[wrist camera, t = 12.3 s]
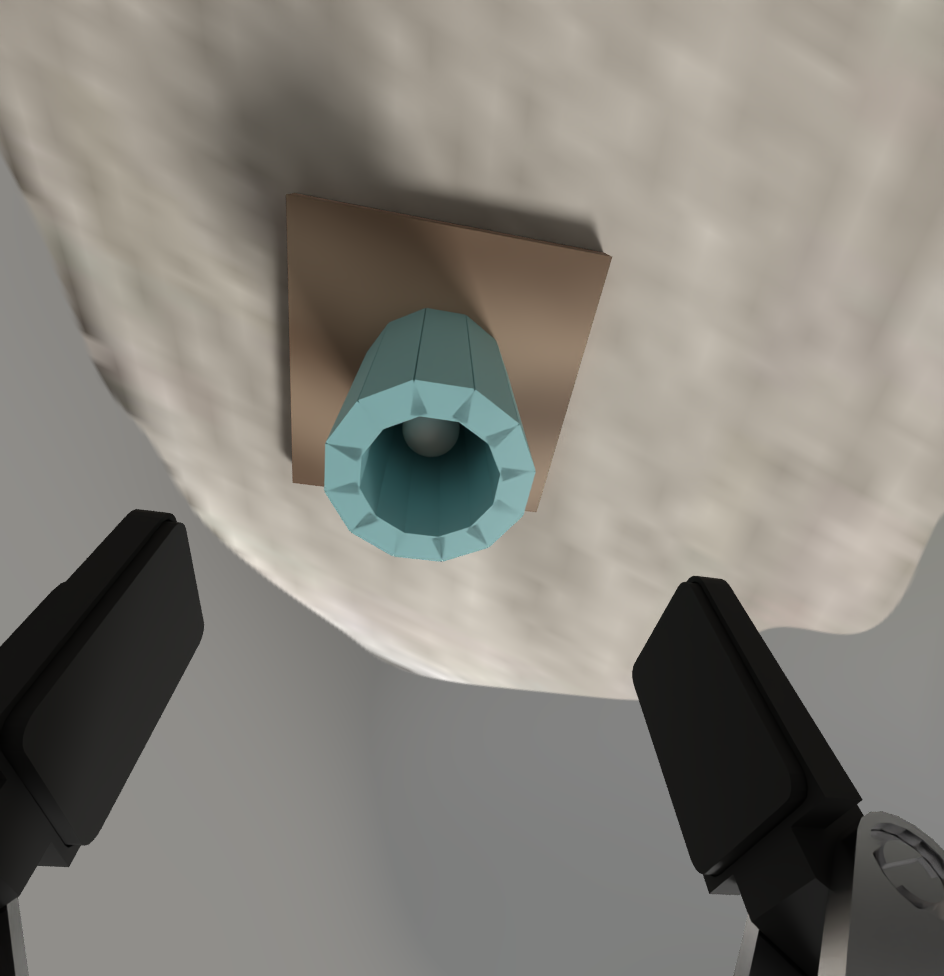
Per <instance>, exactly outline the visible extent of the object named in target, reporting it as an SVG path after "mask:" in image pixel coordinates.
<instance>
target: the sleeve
mask: <svg viewBox="0 0 944 976" xmlns="http://www.w3.org/2000/svg"><path fill="white" fill-rule="evenodd" d="M419 416H421V417H428V418H435V419H442V420H449V421H456V422H459V428H460V430H459V436H458V439H457V442H456V443H455V445H454V446H453V447H452V449H451V450H449V451H448V452H447V453H445V454H443V455H441V456H437V457H425V456H422V455H419V454H417V453H416V452H414V451H413V450H412V449H411V448H410V447H409V446H408V445H407V443H406V441H405V439H404V436H403V430H402V427H403V422H405V421H408V420H411V419H413V418H416V417H419ZM535 472H536V471H535V467H534V463H533V460H532V456H531V453H530V449H529V446H528V443H527V439H526V436H525V432H524V429H523V425H522V422H521V418H520V415H519V412H518V408H517V405H516V401H515V398H514V394H513V391H512V387H511V384H510V381H509V377H508V374H507V371H506V368H505V365H504V362H503V359H502V356H501V353H500V350H499V347H498V344H497V341H496V340H495V339H494V338H493V337H492V336H490V335H489V334H488V333H487V332H486V331H485V330H483V329H482V328H481V327H480V326H479V325H478V324H476V323H475V322H474V321H473V320H472V319H471V318H469V317H468V316H467V315H465V314H459V313H453V312H448V311H442V310H436V309H430V308H424V309H421V310H419V311H416V312H414V313H411V314H409V315H406V316H404V317H401V318H399V319H396V320H394V321H391V322H389V323H388V324H387V325H386V327H385V328H384V329H383V331H382V332H381V334H380V335H379V336H378V338H377V339H376V340H375V342H374V343H373V345H372V346H371V347H370V349H369V350H368V351H367V353H366V355H365V357H364V359H363V362H362V364H361V366H360V368H359V370H358V373H357V375H356V377H355V379H354V381H353V383H352V386H351V388H350V390H349V392H348V394H347V397H346V399H345V401H344V403H343V405H342V408H341V410H340V412H339V414H338V416H337V419H336V421H335V423H334V425H333V427H332V430H331V432H330V434H329V436H328V438H327V441H326V443H325V481H324V491H325V493H326V495H327V496H328V498H329V499H330V501H331V503H332V504H333V506H334V507H335V509H336V510H337V512H338V514H339V515H340V517H341V518H342V520H343V521H344V523H345V525H346V526H347V528H348V529H349V531H351V533H353V534H355V535H356V536H358V537H360V538H362V539H363V540H365V541H367V542H369V543H370V544H372V545H374V546H376V547H377V548H379V549H381V550H383V551H384V552H386V553H388V554H390V555H391V556H393V555H394V557H403V558H412V559H422V560H431V561H440V562H442V560H443V561H446V560H450V559H453V558H456V557H459V556H463V555H466V554H469V553H473V552H476V551H479V550H482V549H486V548H488V546H489V547H490V546H491V545H492V544H493V543H494V542H495V541H496V540H498V539H499V538H500V537H501V536H502V535H503V534H504V533H505V532H506V531H507V530H508V529H509V528H510V527H511V526H513V525H514V524H515V523H516V522H517V521H518V520H519V519H520V518H521V517H522V516H523V515H524V511H525V508H526V504H527V501H528V497H529V493H530V490H531V486H532V483H533V479H534V476H535Z"/></svg>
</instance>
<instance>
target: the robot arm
mask: <svg viewBox="0 0 944 976" xmlns="http://www.w3.org/2000/svg"><path fill="white" fill-rule="evenodd" d="M203 631H204V621H203V616H202V610H201V605H200V600H199V595H198V590H197V584H196V579H195V574H194V569H193V564H192V558H191V553H190V548H189V542H188V537H187V532H186V528H185V525H184V524H183V523H179V522H177V521H176V518H175V516H174V515H173V514H171V513H165V512H155V511H148V510H139V509H136V510H133V511H131V512H130V513H129V514H127V516H126V517H125V518H124V519H123V520H122V521H121V522H120V523H119V524H118V526H116V528H115V529H114V530H113V531H112V532H111V533H110V534H109V535H108V536H107V537H106V538H105V540H104V541H103V542H102V543H101V544H100V545H99V546H98V547H97V548H96V549H95V550H94V552H93V553H92V554H91V555H90V556H89V557H88V558H87V559H86V561H84V562H83V564H82V565H81V566H80V567H79V568H78V569H77V570H76V571H75V572H74V573H73V574H72V575H71V577H70V578H69V579H68V580H67V581H66V582H63V583H61V584H60V585H59V586H57V587H56V588H55V589H54V590H53V591H52V592H51V593H50V594H49V595H48V596H47V597H46V598H45V599H44V600H43V601H42V602H41V603H40V604H39V606H38V607H37V608H36V609H35V610H34V611H33V612H32V613H31V614H30V615H29V616H28V617H27V618H26V620H25V621H24V622H23V623H22V624H21V625H20V626H19V627H18V628H17V629H16V630H15V631H14V632H13V633H12V635H11V636H10V637H9V638H8V639H7V640H6V641H5V642H4V643H3V644H2V646H0V976H29V974H28V966H27V959H26V952H25V945H24V937H23V931H22V923H21V916H20V909H19V901H18V897H19V895H20V894H21V892H22V891H23V889H24V887H25V885H26V884H27V882H28V880H29V878H30V877H31V875H32V874H33V872H34V870H35V868H36V867H37V866H56V867H69V866H70V864H71V862H72V860H73V859H74V857H75V855H76V853H77V851H78V849H79V848H80V846H81V845H88V844H90V843H91V842H92V841H93V840H94V838H95V837H96V836H97V835H98V833H99V831H100V830H101V828H102V826H103V824H104V822H105V820H106V818H107V817H108V815H109V813H110V811H111V809H112V807H113V805H114V804H115V802H116V799H117V798H118V796H119V794H120V792H121V790H122V788H123V786H124V785H125V783H126V781H127V779H128V777H129V775H130V773H131V771H132V770H133V768H134V766H135V764H136V762H137V760H138V758H139V756H140V755H141V753H142V751H143V749H144V747H145V745H146V743H147V741H148V739H149V738H150V736H151V734H152V732H153V730H154V728H155V726H156V724H157V722H158V721H159V719H160V717H161V715H162V713H163V711H164V709H165V707H166V706H167V704H168V702H169V700H170V698H171V696H172V694H173V692H174V691H175V689H176V687H177V685H178V683H179V681H180V679H181V677H182V675H183V674H184V672H185V670H186V668H187V666H188V664H189V662H190V660H191V659H192V657H193V655H194V653H195V651H196V649H197V647H198V645H199V643H200V641H201V638H202V635H203ZM632 678H633V683H634V687H635V690H636V693H637V696H638V699H639V702H640V705H641V708H642V711H643V714H644V717H645V720H646V723H647V726H648V730H649V732H650V736H651V739H652V742H653V745H654V748H655V751H656V754H657V757H658V760H659V763H660V766H661V769H662V773H663V776H664V778H665V782H666V784H667V788H668V791H669V794H670V797H671V800H672V803H673V806H674V809H675V812H676V815H677V818H678V821H679V825H680V828H681V831H682V834H683V837H684V840H685V843H686V846H687V849H688V852H689V855H690V858H691V861H692V863H693V865H694V867H695V868H696V870H697V871H698V872H699V873H701V874H703V876H704V879H705V882H706V885H707V888H708V891H709V894H725V895H740V894H741V896H742V899H743V901H744V904H745V907H746V909H747V912H748V916H747V921H746V925H745V929H744V933H743V938H742V942H741V946H740V950H739V954H738V958H737V963H736V967H735V971H734V975H733V976H944V850H943V849H942V848H941V847H940V846H939V845H938V844H937V843H936V842H935V841H934V840H933V839H932V838H931V837H929V836H928V835H927V834H925V833H924V832H923V831H921V830H920V829H919V828H917V827H916V826H915V825H913V824H911V823H910V822H908V821H906V820H904V819H902V818H900V817H899V816H896V815H892V814H889V813H886V812H883V811H880V812H869V813H868V814H866V815H865V816H864V815H863V814H862V812H861V810H860V809H859V807H858V805H857V804H858V803H859V802H860V801H862V798H861V796H860V795H859V793H858V792H857V790H856V788H855V787H854V785H853V783H852V782H851V780H850V779H849V777H848V775H847V774H846V772H845V771H844V769H843V767H842V766H841V764H840V763H839V761H838V759H837V758H836V756H835V755H834V753H833V751H832V750H831V748H830V747H829V745H828V743H827V742H826V740H825V738H824V737H823V735H822V734H821V732H820V730H819V729H818V727H817V726H816V724H815V722H814V721H813V719H812V718H811V716H810V714H809V713H808V711H807V709H806V708H805V706H804V705H803V703H802V701H801V700H800V698H799V697H798V695H797V693H796V692H795V690H794V689H793V687H792V685H791V684H790V682H789V681H788V679H787V677H786V676H785V674H784V672H783V671H782V669H781V668H780V666H779V664H778V663H777V661H776V660H775V658H774V656H773V655H772V653H771V651H770V650H769V648H768V647H767V645H766V643H765V642H764V640H763V639H762V637H761V635H760V634H759V632H758V631H757V629H756V627H755V626H754V624H753V622H752V621H751V619H750V618H749V616H748V614H747V613H746V611H745V610H744V608H743V606H742V605H741V603H740V602H739V600H738V598H737V597H736V595H735V594H734V592H733V590H732V589H731V587H730V585H729V584H728V583H727V582H726V581H725V580H723V579H717V578H709V577H701V576H692V577H691V578H689V579H688V581H687V582H683V583H681V584H680V585H679V586H678V588H677V590H676V592H675V593H674V595H673V597H672V599H671V600H670V602H669V604H668V606H667V607H666V609H665V611H664V613H663V614H662V616H661V618H660V620H659V621H658V623H657V625H656V627H655V628H654V630H653V632H652V634H651V636H650V637H649V639H648V641H647V643H646V644H645V646H644V648H643V650H642V651H641V653H640V655H639V657H638V658H637V660H636V662H635V664H634V666H633V671H632Z"/></svg>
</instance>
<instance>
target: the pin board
mask: <svg viewBox="0 0 944 976" xmlns="http://www.w3.org/2000/svg"><path fill="white" fill-rule="evenodd" d="M286 216H287V259H288V302H289V345H290V388H291V431H292V474H293V483H299V484H307V485H315V486H323V487H324V481H325V443H326V441H327V438H328V436H329V434H330V432H331V430H332V427H333V425H334V423H335V421H336V419H337V416H338V414H339V412H340V410H341V408H342V405H343V403H344V401H345V399H346V397H347V394H348V392H349V390H350V388H351V386H352V383H353V381H354V379H355V377H356V375H357V373H358V370H359V368H360V366H361V364H362V362H363V359H364V357H365V355H366V353H367V351H368V350H369V349H370V347H371V346H372V345H373V343H374V342H375V340H376V339H377V338H378V336H379V335H380V334H381V332H382V331H383V329H384V328H385V327H386V325H387V324H388V323H389V322H391V321H394V320H396V319H399V318H401V317H404V316H406V315H409V314H411V313H414V312H416V311H419V310H421V309H424V308H430V309H436V310H442V311H448V312H453V313H459V314H465V315H467V316H468V317H469V318H471V319H472V320H473V321H474V322H475V323H476V324H478V325H479V326H480V327H481V328H482V329H483V330H485V331H486V332H487V333H488V334H489V335H490V336H492V337H493V338H494V339H495V340H496V341H497V344H498V347H499V350H500V353H501V356H502V359H503V362H504V365H505V368H506V371H507V374H508V377H509V381H510V384H511V387H512V391H513V394H514V398H515V401H516V405H517V408H518V412H519V415H520V418H521V422H522V425H523V429H524V432H525V436H526V439H527V443H528V446H529V449H530V453H531V456H532V460H533V463H534V467H535V471H536V472H535V476H534V479H533V483H532V486H531V490H530V493H529V497H528V501H527V504H526V508H525V511H530V512H537V508H538V505H539V502H540V498H541V495H542V492H543V488H544V485H545V482H546V478H547V475H548V471H549V468H550V465H551V461H552V458H553V455H554V451H555V448H556V444H557V441H558V438H559V434H560V431H561V428H562V424H563V421H564V417H565V414H566V411H567V407H568V404H569V401H570V397H571V394H572V391H573V387H574V384H575V380H576V377H577V374H578V370H579V367H580V364H581V360H582V357H583V353H584V350H585V347H586V343H587V340H588V337H589V333H590V330H591V327H592V323H593V320H594V316H595V313H596V310H597V306H598V303H599V300H600V296H601V293H602V289H603V286H604V283H605V279H606V276H607V273H608V269H609V266H610V262H611V259H612V257H611V256H609V255H607V254H606V253H603V252H598V251H593V250H588V249H583V248H577V247H572V246H567V245H562V244H557V243H551V242H546V241H541V240H536V239H531V238H525V237H520V236H515V235H510V234H505V233H499V232H494V231H489V230H484V229H479V228H473V227H468V226H463V225H458V224H453V223H447V222H442V221H437V220H432V219H427V218H421V217H416V216H411V215H406V214H401V213H395V212H390V211H385V210H380V209H375V208H369V207H364V206H359V205H354V204H349V203H343V202H338V201H333V200H328V199H323V198H317V197H312V196H307V195H302V194H297V193H293V194H286ZM402 430H403V436H404V439H405V441H406V443H407V445H408V446H409V447H410V448H411V449H412V450H413V451H414V452H416V453H417V454H419V455H422V456H425V457H437V456H441V455H443V454H445V453H447V452H448V451H449V450H451V449H452V447H453V446H454V445H455V443H456V442H457V439H458V436H459V430H460V428H459V422H456V421H449V420H442V419H435V418H428V417H421V416H419V417H416V418H413V419H411V420H408V421H405V422H403V427H402Z"/></svg>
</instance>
